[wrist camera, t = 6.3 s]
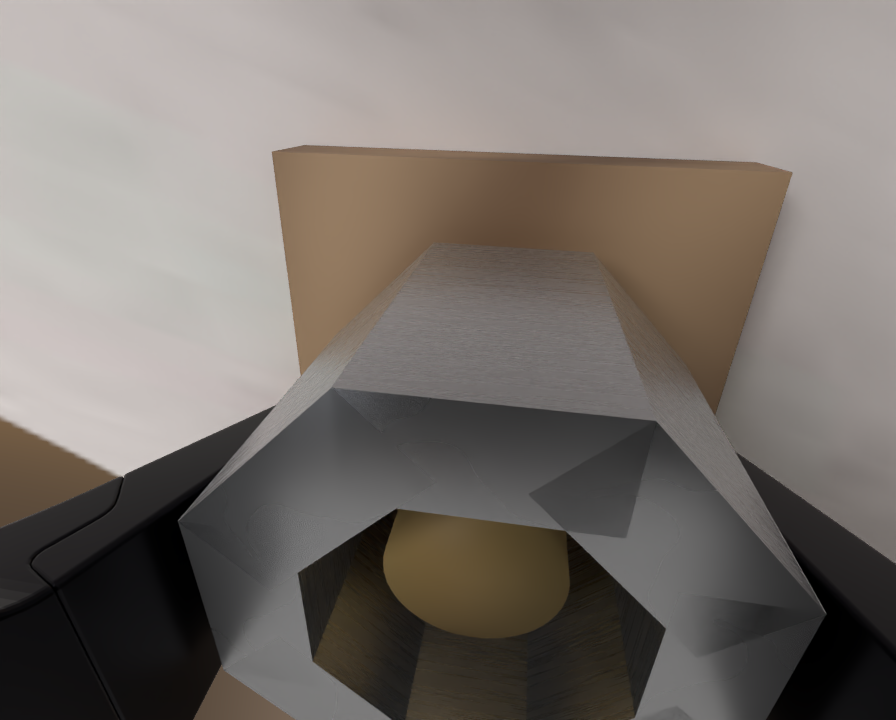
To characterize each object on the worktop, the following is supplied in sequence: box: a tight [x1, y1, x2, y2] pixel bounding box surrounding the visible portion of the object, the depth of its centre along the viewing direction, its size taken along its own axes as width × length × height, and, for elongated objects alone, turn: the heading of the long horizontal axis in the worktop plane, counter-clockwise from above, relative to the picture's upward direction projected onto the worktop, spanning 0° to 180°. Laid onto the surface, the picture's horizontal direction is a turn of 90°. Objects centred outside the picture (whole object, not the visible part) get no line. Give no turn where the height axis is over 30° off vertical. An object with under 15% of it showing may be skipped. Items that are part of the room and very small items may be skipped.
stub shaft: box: [272, 145, 792, 638], centre depth 9 cm, size 9×9×6 cm
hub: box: [178, 242, 826, 720], centre depth 8 cm, size 6×6×5 cm
